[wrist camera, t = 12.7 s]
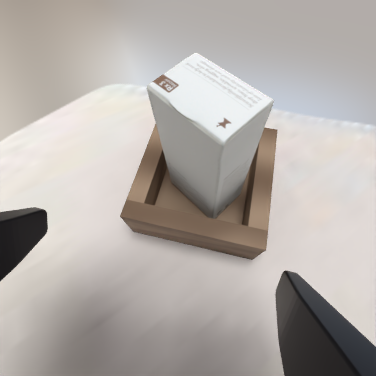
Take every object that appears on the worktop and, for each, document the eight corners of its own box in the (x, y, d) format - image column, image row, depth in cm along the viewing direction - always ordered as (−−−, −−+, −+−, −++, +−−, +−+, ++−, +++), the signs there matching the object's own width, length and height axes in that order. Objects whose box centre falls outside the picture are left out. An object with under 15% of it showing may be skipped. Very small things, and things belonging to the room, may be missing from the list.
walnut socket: (252, 259, 21) (266, 250, 17) (133, 231, 22) (120, 216, 18) (264, 156, 26) (277, 129, 22) (165, 138, 27) (160, 110, 23)
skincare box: (241, 193, 23) (285, 97, 12) (210, 224, 22) (227, 147, 11) (197, 156, 25) (200, 45, 14) (166, 183, 24) (143, 82, 13)
